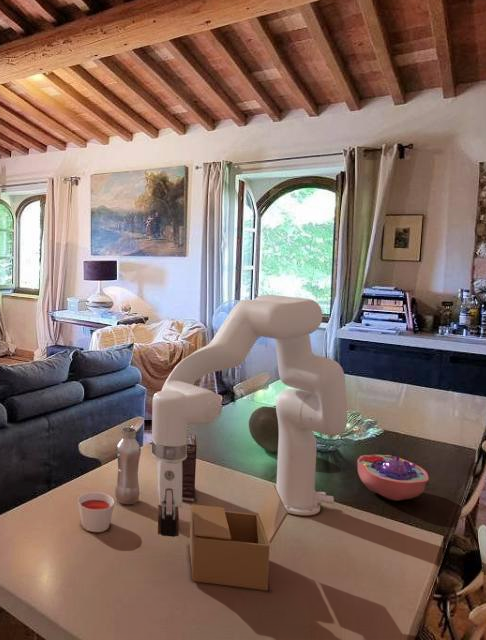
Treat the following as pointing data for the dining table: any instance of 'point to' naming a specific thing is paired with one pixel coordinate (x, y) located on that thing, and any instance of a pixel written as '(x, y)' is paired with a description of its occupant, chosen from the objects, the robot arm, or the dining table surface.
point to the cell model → (391, 476)
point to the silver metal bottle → (128, 467)
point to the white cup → (95, 511)
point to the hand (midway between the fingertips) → (168, 528)
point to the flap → (272, 513)
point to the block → (175, 517)
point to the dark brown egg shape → (265, 428)
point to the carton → (228, 548)
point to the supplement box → (189, 469)
